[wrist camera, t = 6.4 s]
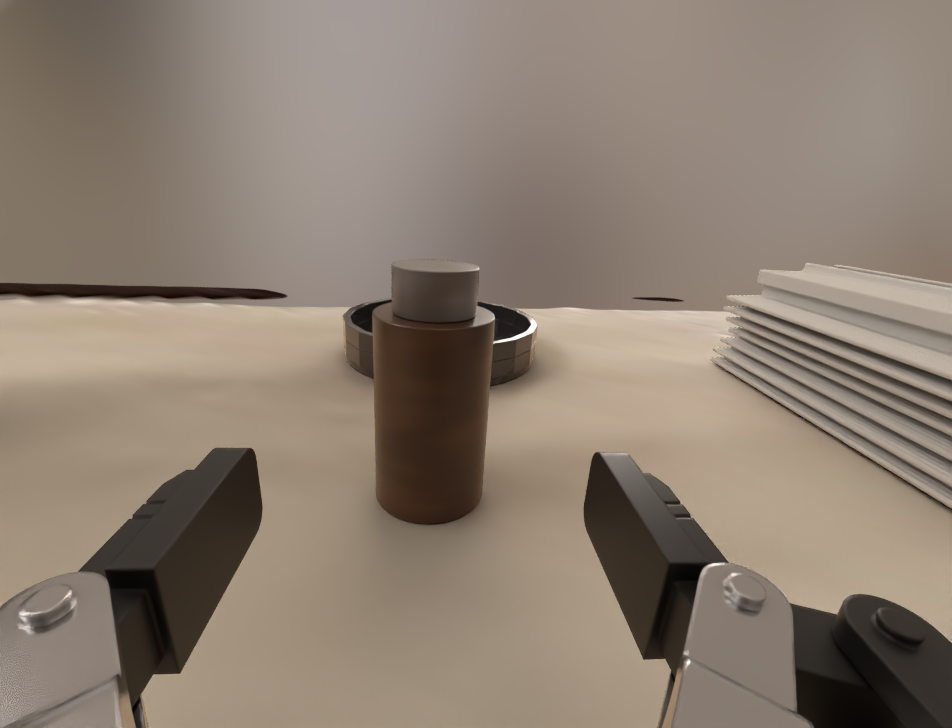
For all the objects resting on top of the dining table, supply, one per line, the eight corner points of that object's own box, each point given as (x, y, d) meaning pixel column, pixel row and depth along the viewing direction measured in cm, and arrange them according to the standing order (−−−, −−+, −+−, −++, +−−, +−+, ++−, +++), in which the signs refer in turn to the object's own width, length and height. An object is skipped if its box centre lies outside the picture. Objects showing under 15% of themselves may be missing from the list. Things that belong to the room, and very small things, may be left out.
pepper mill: (385, 534, 19) (381, 275, 15) (370, 467, 23) (364, 255, 20) (497, 512, 21) (519, 275, 17) (463, 454, 25) (474, 257, 21)
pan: (354, 398, 31) (352, 351, 30) (339, 330, 46) (337, 297, 45) (567, 380, 37) (573, 340, 36) (492, 325, 52) (494, 295, 51)
